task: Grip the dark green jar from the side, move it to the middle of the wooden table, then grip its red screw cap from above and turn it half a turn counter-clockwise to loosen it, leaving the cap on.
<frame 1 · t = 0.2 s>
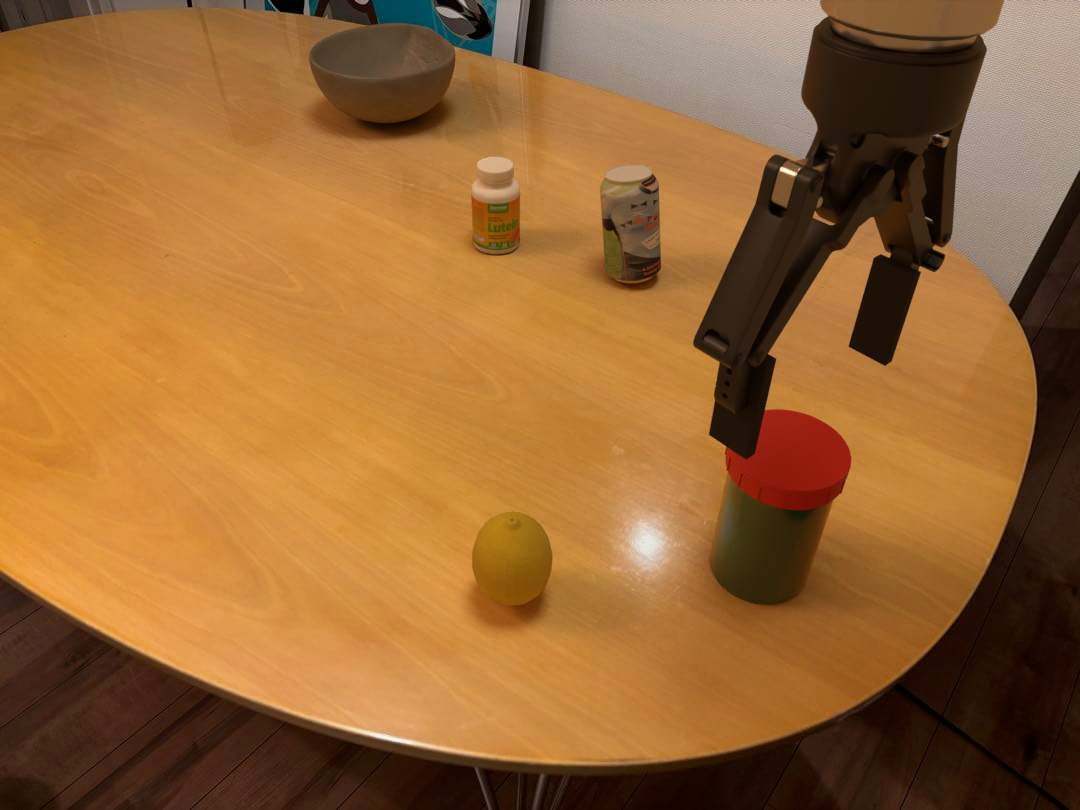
hand: (805, 396, 53), 18 cm above the table, tool pointing down, fingers open, 13 cm apart
cap: (788, 452, 58), point 12 cm above the table, screwed on, not yet turned
supplement bottle: (496, 245, 102), on the table
lemon: (512, 597, 64), on the table
bowl: (389, 117, 129), on the table
beverage can: (626, 275, 97), on the table
jar: (758, 565, 66), on the table
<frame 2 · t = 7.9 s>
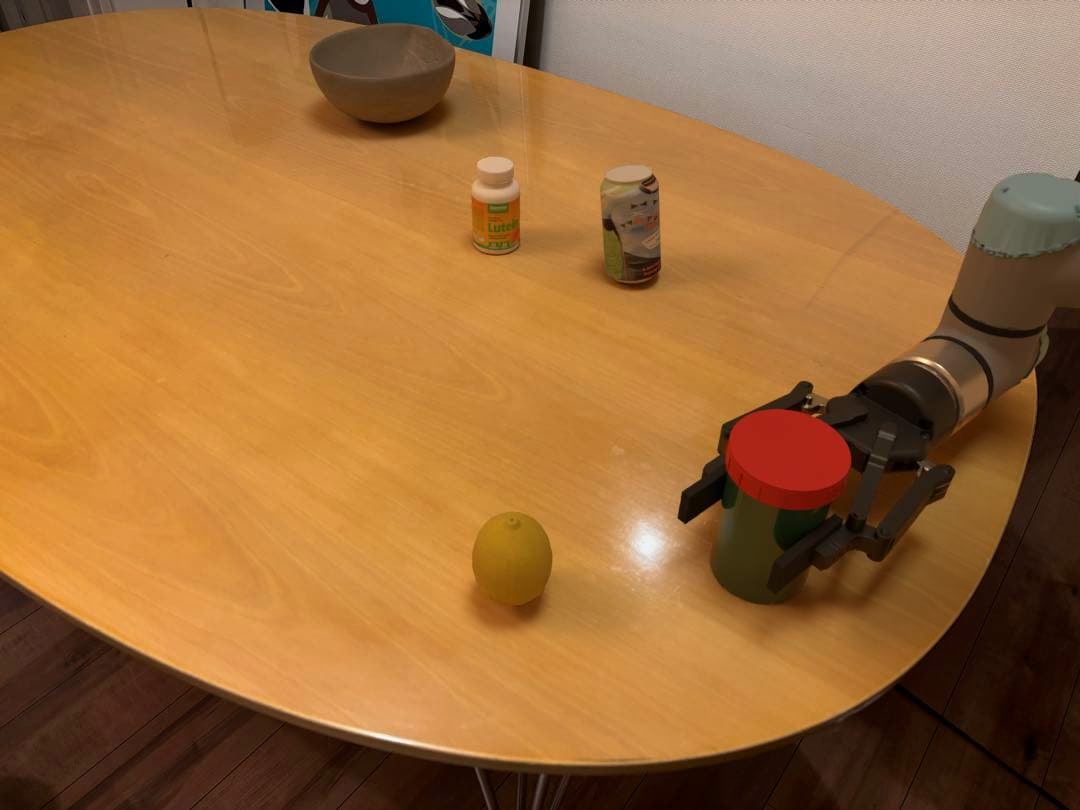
hand: (727, 541, 59), 6 cm above the table, tool horizontal, fingers closed on jar, 7 cm apart
jar: (758, 565, 66), on the table, touching gripper
everything else where it was.
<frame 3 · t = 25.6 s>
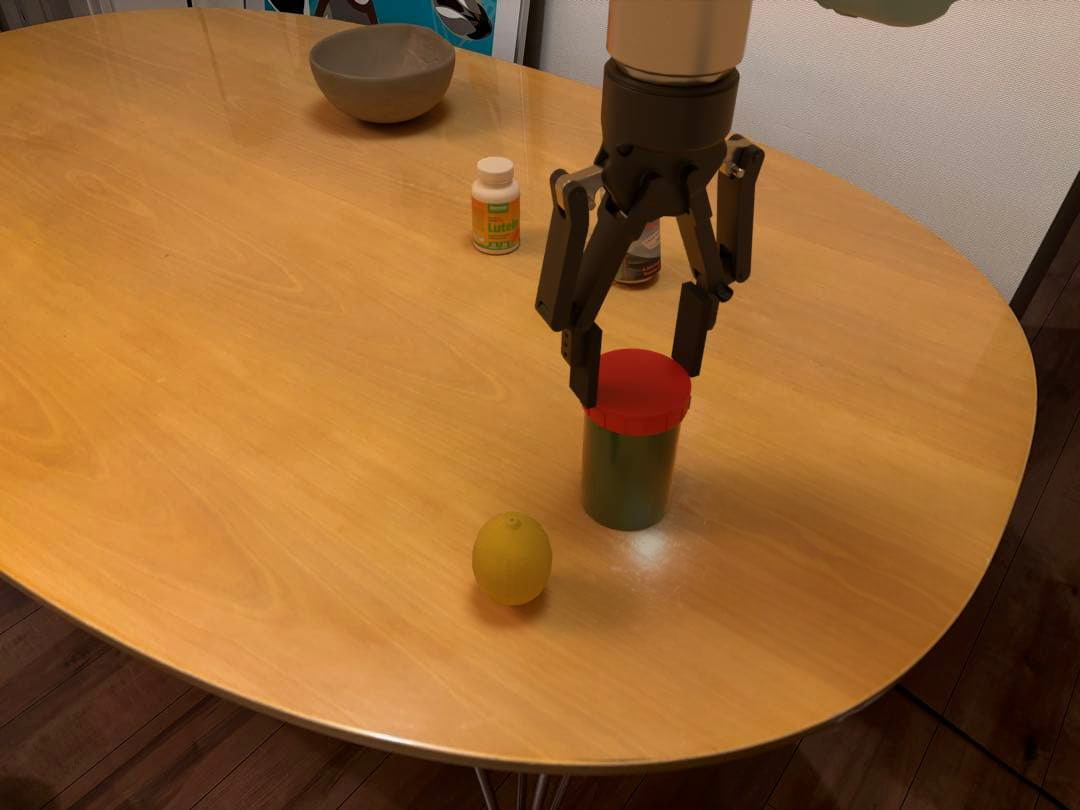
hand: (635, 380, 64), 12 cm above the table, tool pointing down, fingers closed on cap, 8 cm apart
cap: (635, 385, 64), point 12 cm above the table, screwed on, not yet turned, touching gripper
jar: (624, 497, 71), on the table
everything else where it was.
when the fingers open (3 cm above the table, at t = 30.3 s): cap stays where it is, point 12 cm above the table.
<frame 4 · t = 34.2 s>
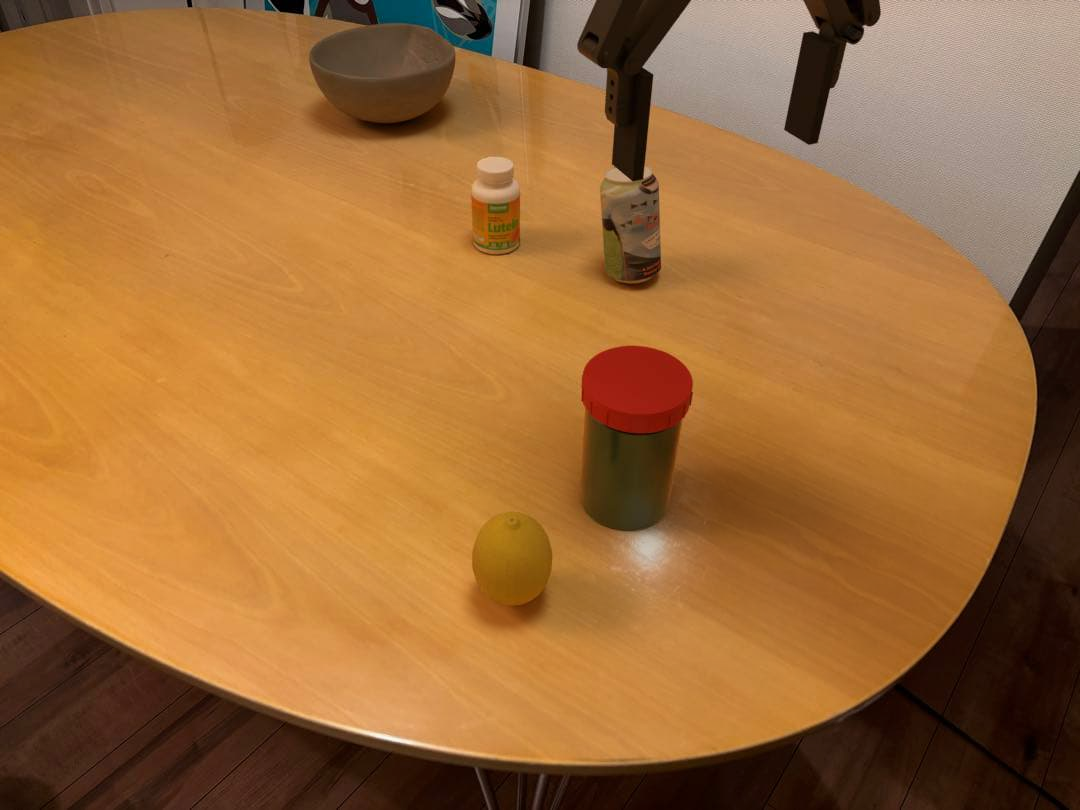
hand: (717, 154, 58), 27 cm above the table, tool pointing down, fingers open, 13 cm apart
cap: (637, 382, 63), point 12 cm above the table, turned 182° so far, risen 0.2 cm, still on its thread
everything else where it was.
at the end: jar inside the target area (0.1 cm from its centre), on the table; cap turned 0.51 turns (still on its thread); cap is still on its thread (0.51 turns) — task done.
